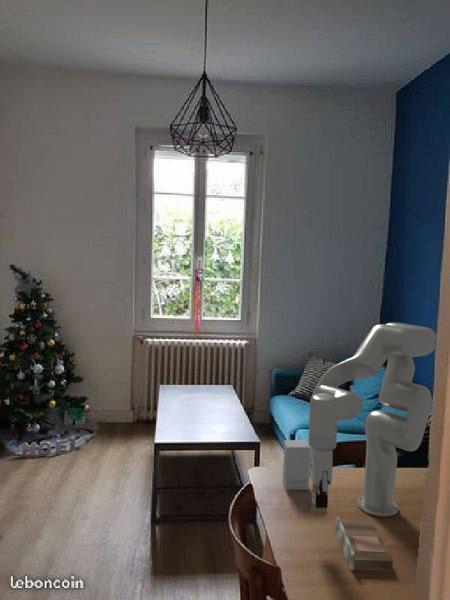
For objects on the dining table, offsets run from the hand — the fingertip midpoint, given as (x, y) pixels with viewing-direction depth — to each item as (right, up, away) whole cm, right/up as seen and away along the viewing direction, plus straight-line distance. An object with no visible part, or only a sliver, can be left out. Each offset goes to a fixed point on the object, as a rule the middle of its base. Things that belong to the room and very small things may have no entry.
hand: (319, 501), depth 143 cm
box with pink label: (+12, -13, -1) cm, 18 cm away
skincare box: (-2, -9, +35) cm, 36 cm away
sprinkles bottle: (0, -4, +1) cm, 4 cm away
